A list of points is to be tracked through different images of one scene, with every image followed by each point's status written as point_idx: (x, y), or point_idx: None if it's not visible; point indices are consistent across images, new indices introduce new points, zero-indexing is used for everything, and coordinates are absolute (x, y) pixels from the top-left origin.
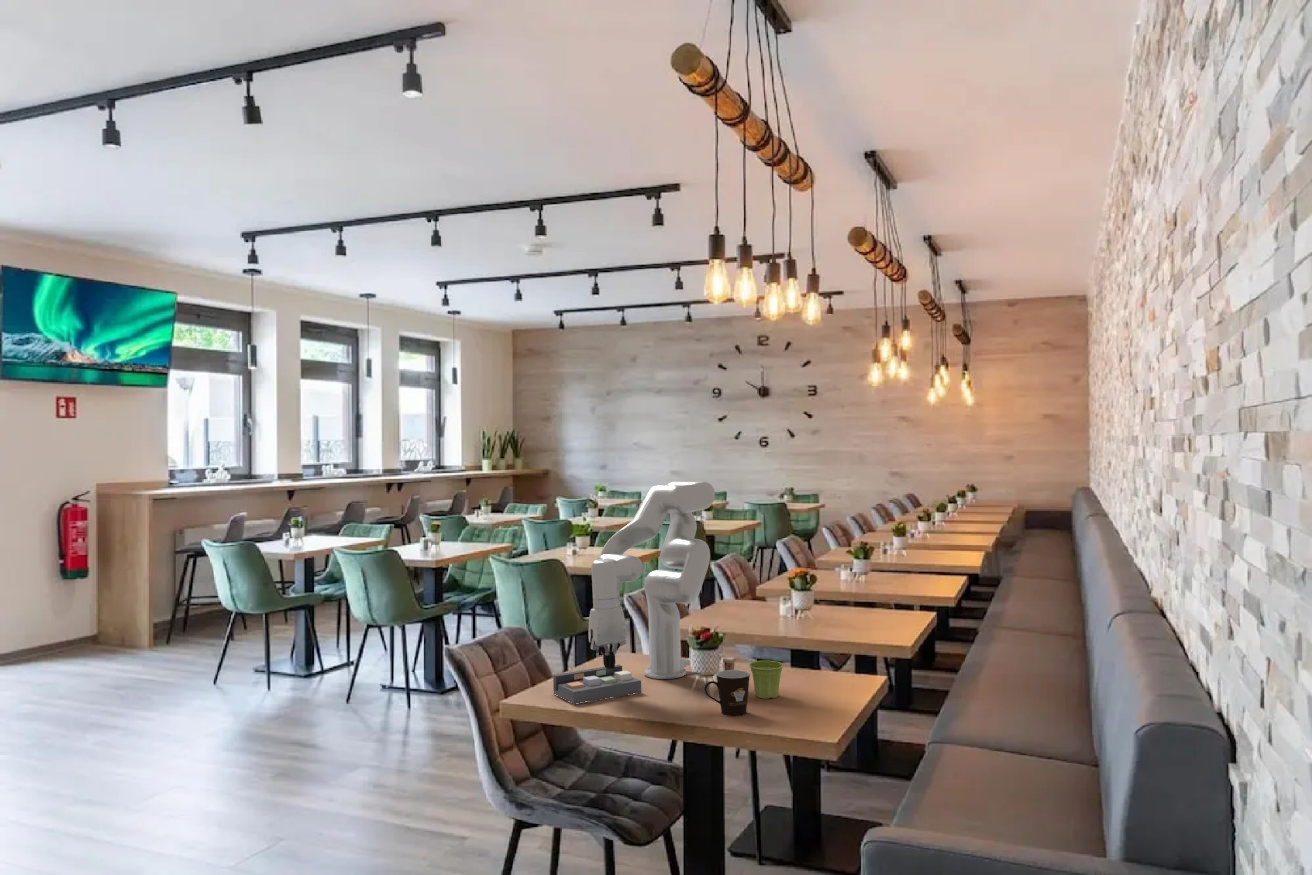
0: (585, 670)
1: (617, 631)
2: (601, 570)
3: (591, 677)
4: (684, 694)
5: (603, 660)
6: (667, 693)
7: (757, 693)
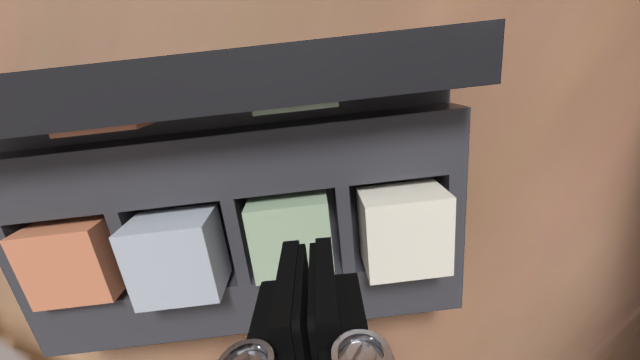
0: (158, 82)
1: None
2: None
3: (168, 263)
4: (562, 355)
5: (255, 308)
6: (520, 318)
7: None
